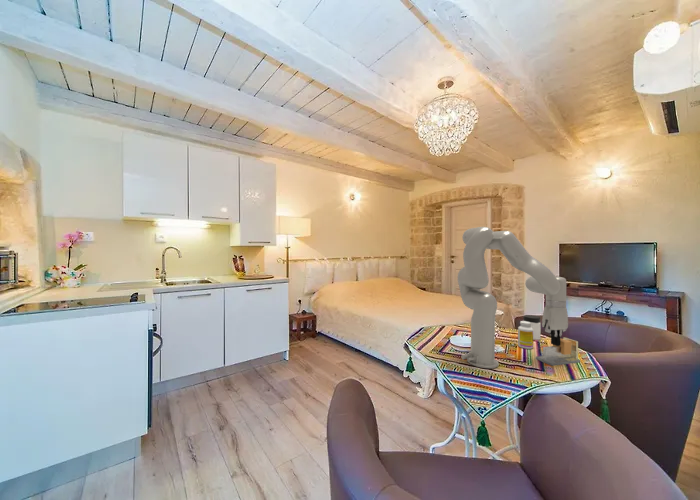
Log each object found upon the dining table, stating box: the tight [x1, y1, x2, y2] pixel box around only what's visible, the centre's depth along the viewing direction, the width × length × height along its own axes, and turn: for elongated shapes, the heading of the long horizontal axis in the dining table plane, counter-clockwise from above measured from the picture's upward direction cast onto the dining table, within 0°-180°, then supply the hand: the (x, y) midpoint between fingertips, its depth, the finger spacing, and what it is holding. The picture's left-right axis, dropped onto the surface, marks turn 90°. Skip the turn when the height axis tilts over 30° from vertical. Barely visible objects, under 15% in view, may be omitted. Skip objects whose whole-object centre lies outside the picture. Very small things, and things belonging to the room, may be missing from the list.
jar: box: [522, 314, 542, 341], centre depth 162 cm, size 9×8×12 cm
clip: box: [552, 337, 571, 355], centre depth 129 cm, size 4×5×6 cm
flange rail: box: [535, 337, 581, 367], centre depth 128 cm, size 16×8×9 cm, turn 105°
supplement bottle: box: [517, 320, 534, 350], centre depth 146 cm, size 7×7×13 cm
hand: (555, 344), depth 128 cm, fingers closed
